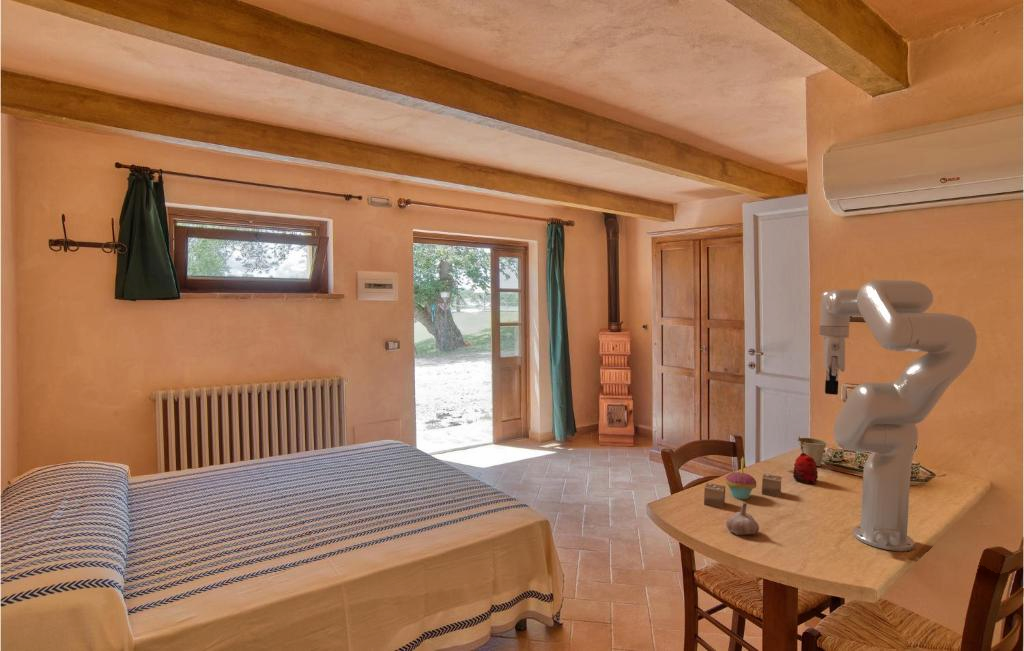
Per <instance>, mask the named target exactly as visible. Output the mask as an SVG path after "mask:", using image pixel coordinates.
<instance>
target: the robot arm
mask: <svg viewBox="0 0 1024 651" xmlns="http://www.w3.org/2000/svg"><path fill="white" fill-rule="evenodd" d="M933 302H934V294H933V292H932V290H931V289H930V288H929V287H928V286H927V285H926V284H924V283H922V282H920V281H916V280H907V279H905V280H902V279H901V280H898V279H897V280H896V279H894V280H893V279H890V280H889V279H874V280H870V281H868V282H866V283H864V284H863V285H862V286H861V287H860V288H856V289H855V288H854V289H851V288H849V289H847V288H845V289H843V288H841V289H839V288H838V289H834V290H824V291H823V292H822V293H821V296H820V311H819V312H820V314H819V335H818V336H819V337H820V338H823V351H822V353H823V354H822V358H823V360H822V361H823V363H822V364H823V368H824V370H826V376H825V377H826V378H825V380H824V381H825V383H824V393H825V394H826V395H838V393H839V370H840V371H841V372H842V373H843V372H846V339H849V338H850V324H851V323H850V321H851V320H850V319H851V317H862V318H863V321H864V322H865V323H866V325H867V327H868V328H869V330H870V331H871V333H872V335H873V337H874V338H875V341H876V342H877V343H878V344H879V345H880V346H881V347H882V348H884V349H886V350H888V351H892V352H917V353H918V352H919V353H922V352H923V353H924V355H922V356H920V357H918V358H916V359H914V360H913V361H912V362H910V363H909V364H908V365H907V366H906V367H904V369H903V370H902V372H901V374H900V375H899V376H898V378H897V379H896V380H895V381H891V382H864V383H861V384H859V385H857V386H855V387H854V388H853V389H852V390H851V392H850V393H849V394H848V397H847V398H846V400H845V403H843V406H842V407H841V410H840V411H839V413H838V415H837V416H836V419H835V421H834V424H833V439H834V441H835V443H836V445H838V446H839V447H840V448H841V449H843V450H846V451H848V452H857V453H858V452H861V453H862V452H863V453H865V452H866V453H870V455H869V456H868V458H866V461H865V462H864V466H863V473H862V490H861V491H862V492H861V507H860V508H861V510H860V511H861V513H860V524H859V525H856V526H854V527H853V528H852V534H853V536H854V537H855V538H856V539H857V540H859V541H860V542H862V543H863V544H867V545H869V546H872V547H875V548H879V549H882V550H886V551H887V550H888V551H891V552H908V551H907V550H909V551H911V549H912V550H914V548H915V540H913V538H912V537H911V536H909V535H908V523H909V507H910V506H909V505H910V489H911V473H912V472H911V471H912V463H913V458H914V454H915V451H916V447H917V444H918V439H919V430H918V426H917V425H916V424H920V423H921V422H923V421H924V420H925V419H926V418H927V417H928V416H929V414H930V413H931V412H932V410H933V409H934V407H935V406H936V405H937V404H938V402H939V401H940V400H941V399H942V396H943V395H944V393H945V392H946V391H947V389H949V386H951V385H952V384H953V382H954V381H956V380H957V378H959V377H960V376H961V375H962V374H963V373H964V372H965V370H966V369H967V368H968V367H969V365H970V364H971V363H972V360H973V358H974V356H975V353H976V350H977V345H978V344H977V343H978V336H977V332H976V328H975V327H974V325H973V324H972V322H971V321H969V320H968V319H966V318H965V317H962V316H959V315H956V314H950V313H943V312H942V313H940V312H939V313H937V312H926V311H927V310H929V309H930V307H931V306H932V304H933Z"/></svg>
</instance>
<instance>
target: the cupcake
mask: <svg viewBox="0 0 1024 651" xmlns="http://www.w3.org/2000/svg"><path fill="white" fill-rule="evenodd" d="M744 466H745V458H744V457H742V458H741V465H740V471H738V472H737V471H734V472H731V473H730V474H728V475H726V476H725V484H726V485H727V486H728V488H729V491H730V495H731V496H732V497H733V498H735V499H739V500H747V499H749V497H750V494H751V492H752V490H753V489H755V488H757V481H756V478H754V476H752V475H751V474H748V473H745V472H744Z"/></svg>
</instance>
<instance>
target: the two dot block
mask: <svg viewBox="0 0 1024 651" xmlns="http://www.w3.org/2000/svg"><path fill="white" fill-rule="evenodd" d="M781 494H782V476H780V475H773V474H768V473H763V475H762V482H761V495H764V496H768V497H769V496H770V497H777V498H781Z"/></svg>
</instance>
